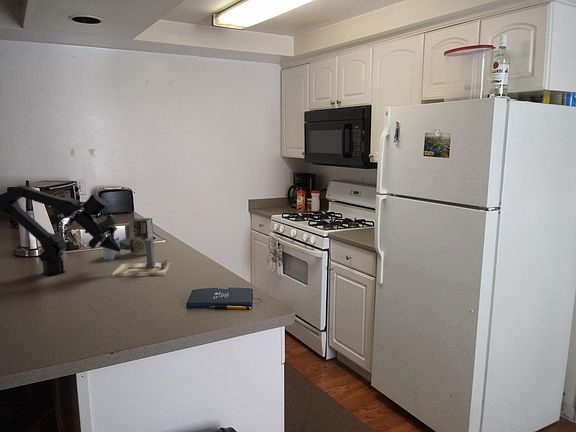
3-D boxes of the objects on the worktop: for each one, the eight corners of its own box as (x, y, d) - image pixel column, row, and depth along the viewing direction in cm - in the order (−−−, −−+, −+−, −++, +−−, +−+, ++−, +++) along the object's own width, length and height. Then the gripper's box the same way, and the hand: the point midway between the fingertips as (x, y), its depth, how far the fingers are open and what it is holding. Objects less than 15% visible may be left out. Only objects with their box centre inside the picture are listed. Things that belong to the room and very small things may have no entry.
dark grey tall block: (145, 267, 182) (143, 240, 180) (148, 265, 186) (146, 238, 184) (153, 267, 183) (151, 240, 181) (155, 264, 187) (153, 238, 185)
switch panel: (112, 276, 177) (111, 267, 176) (122, 266, 191) (121, 258, 190) (164, 275, 178) (164, 266, 178) (171, 265, 192) (170, 257, 191)
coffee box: (154, 251, 216) (152, 218, 213) (149, 255, 209) (147, 220, 207) (136, 251, 217) (133, 217, 214) (130, 254, 210) (127, 220, 207)
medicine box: (113, 259, 202) (112, 240, 200) (103, 259, 202) (102, 240, 201) (120, 255, 210) (119, 236, 208) (111, 255, 210) (109, 236, 208)
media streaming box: (115, 245, 229) (114, 240, 229) (142, 241, 240) (141, 235, 239) (129, 250, 219) (128, 244, 219) (156, 245, 230) (156, 239, 229)
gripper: (95, 213, 170) (127, 241, 173) (110, 205, 188) (139, 231, 191) (74, 234, 171) (107, 262, 174) (92, 224, 189) (121, 250, 192)
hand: (119, 250), depth 183 cm, fingers closed
